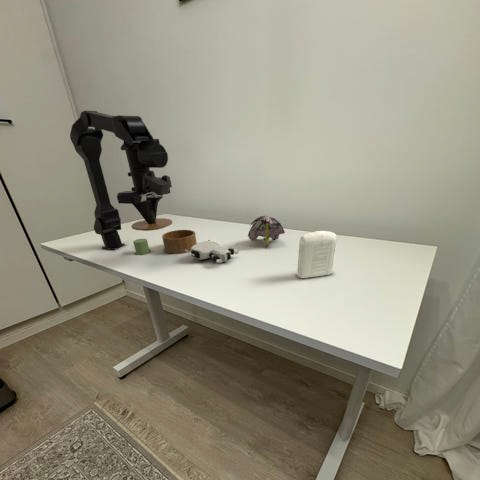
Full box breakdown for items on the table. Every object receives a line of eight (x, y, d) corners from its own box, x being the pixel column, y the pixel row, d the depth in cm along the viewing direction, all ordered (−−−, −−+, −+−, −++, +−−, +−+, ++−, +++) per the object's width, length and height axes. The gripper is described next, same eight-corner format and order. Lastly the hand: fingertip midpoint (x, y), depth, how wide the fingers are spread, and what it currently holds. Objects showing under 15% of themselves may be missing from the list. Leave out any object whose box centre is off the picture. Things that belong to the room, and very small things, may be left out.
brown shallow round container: (158, 252, 104) (155, 237, 101) (177, 242, 113) (174, 228, 110) (185, 255, 100) (183, 240, 97) (202, 244, 109) (200, 230, 106)
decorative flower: (288, 212, 105) (274, 208, 92) (292, 243, 107) (279, 243, 94) (254, 221, 112) (237, 219, 99) (258, 250, 114) (242, 251, 101)
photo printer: (327, 269, 82) (332, 227, 76) (334, 274, 79) (340, 231, 72) (294, 274, 81) (297, 231, 74) (300, 280, 77) (304, 236, 71)
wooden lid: (123, 230, 89) (118, 214, 86) (149, 220, 99) (146, 205, 96) (156, 233, 84) (152, 216, 81) (180, 222, 94) (177, 206, 91)
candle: (133, 253, 104) (130, 242, 101) (142, 249, 108) (139, 238, 105) (143, 255, 102) (140, 243, 100) (152, 250, 106) (149, 239, 103)
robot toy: (241, 259, 96) (208, 249, 103) (241, 246, 93) (207, 237, 100) (218, 271, 87) (184, 260, 94) (218, 258, 85) (183, 247, 92)
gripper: (140, 170, 72) (153, 230, 81) (179, 164, 86) (187, 216, 95) (108, 171, 76) (124, 228, 84) (151, 165, 90) (161, 214, 99)
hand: (151, 221), depth 90 cm, fingers closed on wooden lid, 3 cm apart
